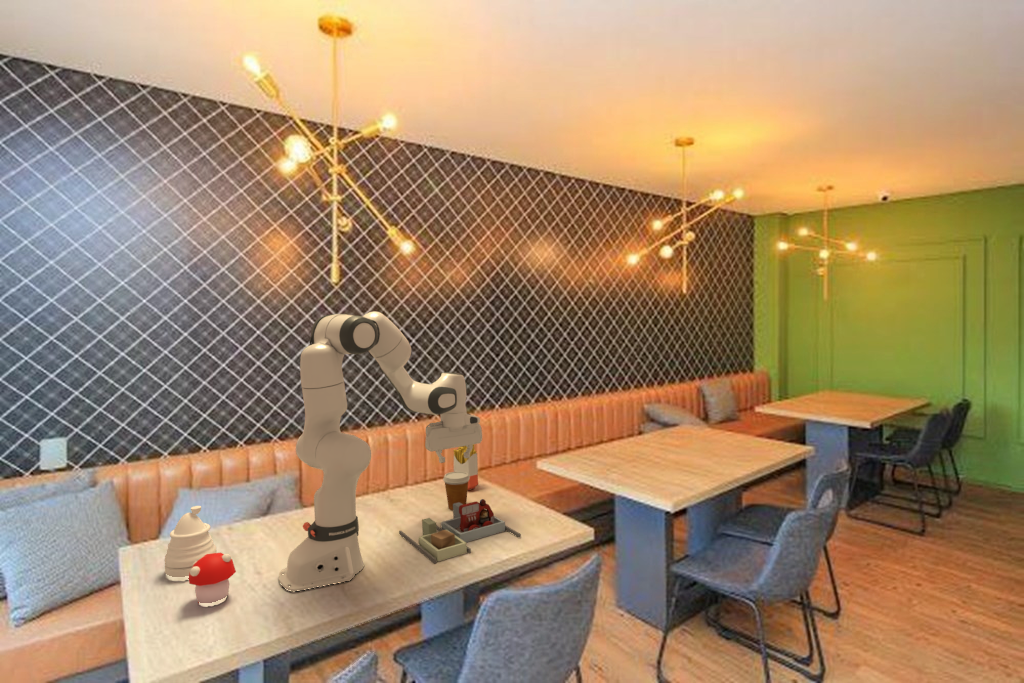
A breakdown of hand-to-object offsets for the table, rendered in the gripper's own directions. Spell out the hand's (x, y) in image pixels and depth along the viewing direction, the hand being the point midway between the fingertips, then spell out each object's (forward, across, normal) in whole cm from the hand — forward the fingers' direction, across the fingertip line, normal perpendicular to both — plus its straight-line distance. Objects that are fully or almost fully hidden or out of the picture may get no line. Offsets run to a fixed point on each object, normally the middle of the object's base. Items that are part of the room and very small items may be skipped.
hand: (454, 460), depth 192 cm
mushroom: (+22, -75, -9) cm, 78 cm away
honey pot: (+22, -78, +13) cm, 82 cm away
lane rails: (+21, -6, -12) cm, 25 cm away
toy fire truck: (+21, +1, -13) cm, 25 cm away
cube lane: (+21, -14, -15) cm, 30 cm away
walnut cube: (+21, -14, -18) cm, 31 cm away
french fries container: (+21, +19, +28) cm, 40 cm away
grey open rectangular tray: (+21, 0, -9) cm, 23 cm away
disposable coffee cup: (+21, +6, +11) cm, 24 cm away
